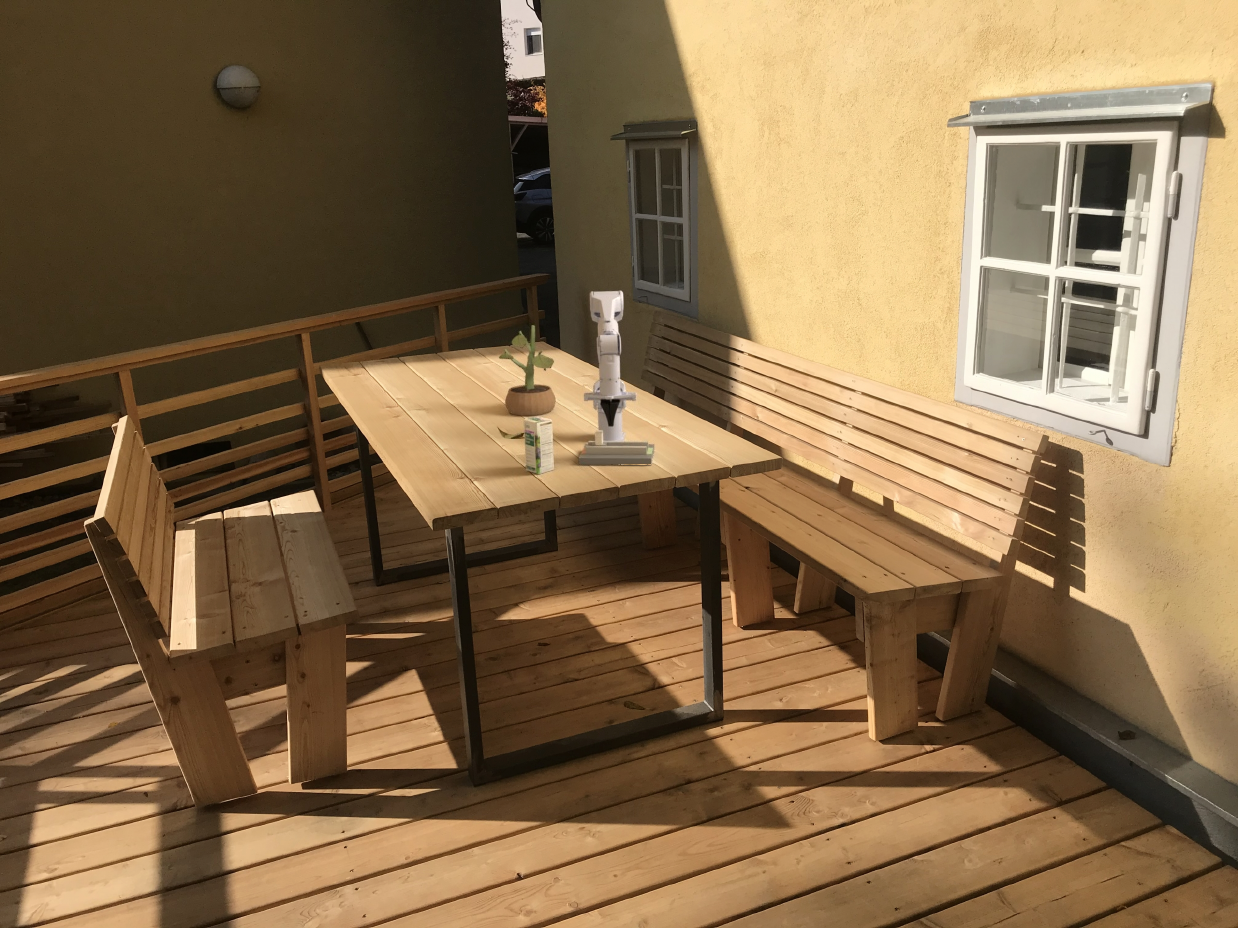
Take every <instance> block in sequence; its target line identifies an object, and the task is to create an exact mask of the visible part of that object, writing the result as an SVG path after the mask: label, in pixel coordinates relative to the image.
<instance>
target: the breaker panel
mask: <svg viewBox="0 0 1238 928" xmlns="http://www.w3.org/2000/svg"><path fill="white" fill-rule="evenodd" d="M593 442H595V440H588V442H587V443H585V444H584V446H583V448H582V450H581V452H580V454H579V457H578V465H579V466H612V465H611V464H614V465H613V466H622V465H621V464H651V462H652V463H653V460H652V458H653V459H654V455H655V451H654V450H655V443H654V444H653V443H650V444H649V440H646V441H645V440H637V441H636V440H623V441H603V442H607V446H592V443H593ZM653 454H654V455H653ZM618 464H620V465H618ZM651 465H652V464H651Z"/></svg>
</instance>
